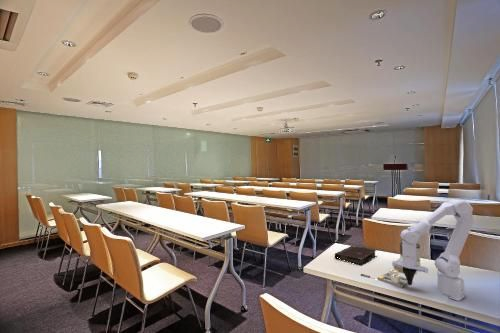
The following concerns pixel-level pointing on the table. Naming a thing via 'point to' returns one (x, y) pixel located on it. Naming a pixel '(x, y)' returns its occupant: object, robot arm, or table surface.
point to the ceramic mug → (399, 267)
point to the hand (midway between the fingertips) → (409, 284)
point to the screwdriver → (367, 276)
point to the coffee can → (416, 252)
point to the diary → (356, 255)
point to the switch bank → (386, 276)
